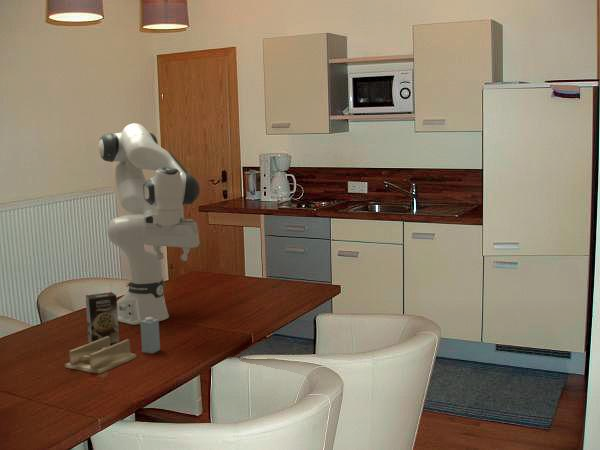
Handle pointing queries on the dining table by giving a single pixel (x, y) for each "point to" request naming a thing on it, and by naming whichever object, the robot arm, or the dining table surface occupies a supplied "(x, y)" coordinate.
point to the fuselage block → (150, 335)
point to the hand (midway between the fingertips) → (172, 259)
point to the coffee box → (102, 317)
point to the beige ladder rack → (100, 355)
